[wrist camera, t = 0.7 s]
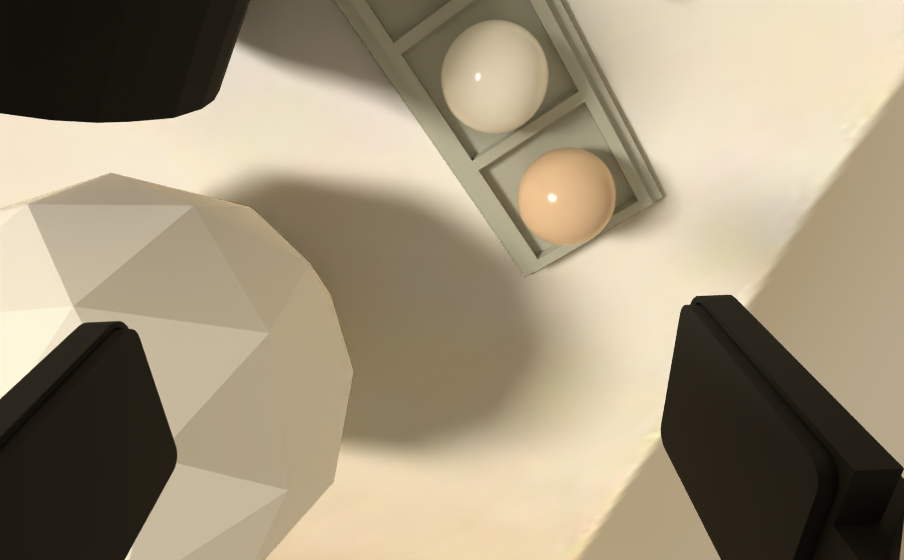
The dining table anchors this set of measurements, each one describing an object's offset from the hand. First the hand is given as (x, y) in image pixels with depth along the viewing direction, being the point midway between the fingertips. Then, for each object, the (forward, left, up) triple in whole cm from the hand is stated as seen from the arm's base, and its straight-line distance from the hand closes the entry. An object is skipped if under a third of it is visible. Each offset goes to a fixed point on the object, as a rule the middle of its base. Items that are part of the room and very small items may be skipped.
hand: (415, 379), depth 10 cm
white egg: (-4, 0, -22) cm, 23 cm away
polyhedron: (+17, +1, -23) cm, 29 cm away
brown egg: (-4, +7, -22) cm, 24 cm away
